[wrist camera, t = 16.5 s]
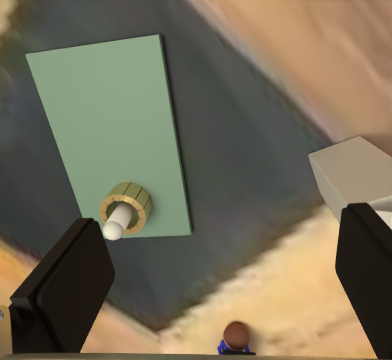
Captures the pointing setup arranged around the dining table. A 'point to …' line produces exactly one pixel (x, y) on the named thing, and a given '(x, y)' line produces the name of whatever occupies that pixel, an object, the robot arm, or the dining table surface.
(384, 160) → the milk carton
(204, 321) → the dining table surface
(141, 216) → the brass ring
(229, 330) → the figurine character
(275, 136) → the dining table surface
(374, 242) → the robot arm
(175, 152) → the post board
